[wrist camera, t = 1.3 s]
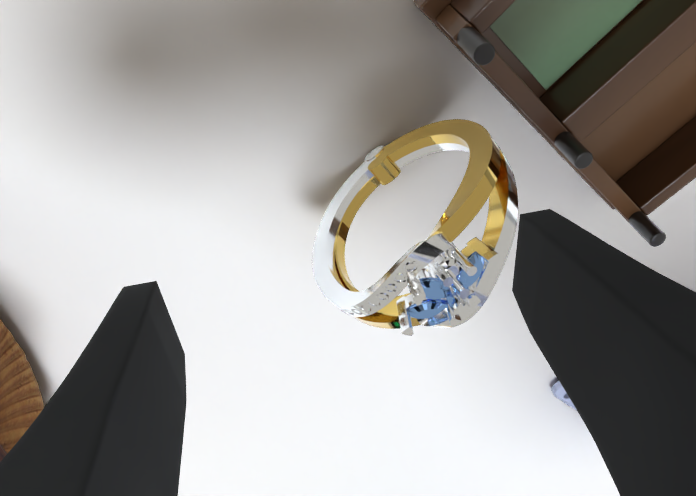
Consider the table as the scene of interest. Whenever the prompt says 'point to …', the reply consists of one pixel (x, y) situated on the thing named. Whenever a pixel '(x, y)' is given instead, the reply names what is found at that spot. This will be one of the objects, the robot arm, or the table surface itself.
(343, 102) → the table surface
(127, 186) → the table surface
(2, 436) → the wooden carving
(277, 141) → the table surface
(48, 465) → the robot arm
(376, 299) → the ring
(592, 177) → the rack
